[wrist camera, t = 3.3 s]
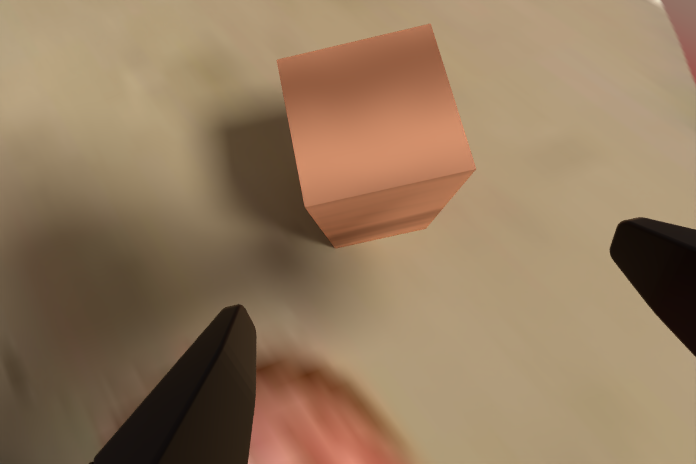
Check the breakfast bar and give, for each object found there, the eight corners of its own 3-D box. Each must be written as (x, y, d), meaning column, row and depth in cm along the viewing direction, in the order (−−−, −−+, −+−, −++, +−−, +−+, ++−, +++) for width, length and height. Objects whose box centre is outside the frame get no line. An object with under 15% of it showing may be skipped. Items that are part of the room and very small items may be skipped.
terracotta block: (425, 228, 21) (476, 168, 11) (335, 248, 21) (304, 207, 11) (403, 144, 22) (430, 23, 12) (318, 164, 22) (276, 59, 12)
